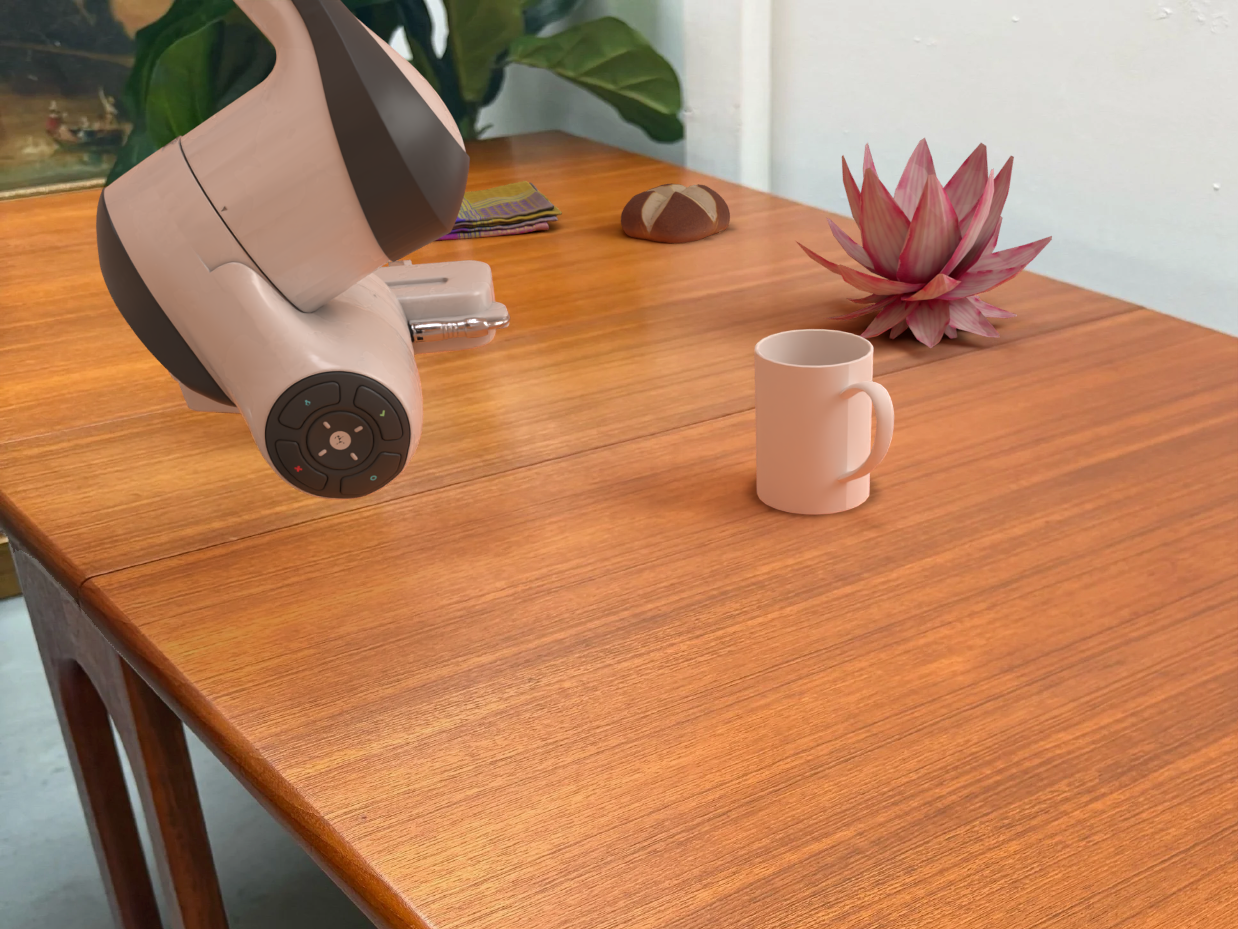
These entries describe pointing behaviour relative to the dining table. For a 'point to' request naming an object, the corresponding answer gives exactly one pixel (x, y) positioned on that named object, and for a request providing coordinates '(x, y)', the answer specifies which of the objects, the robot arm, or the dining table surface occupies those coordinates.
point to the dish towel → (503, 212)
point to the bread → (675, 214)
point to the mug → (817, 420)
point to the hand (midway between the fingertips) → (326, 279)
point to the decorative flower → (929, 247)
